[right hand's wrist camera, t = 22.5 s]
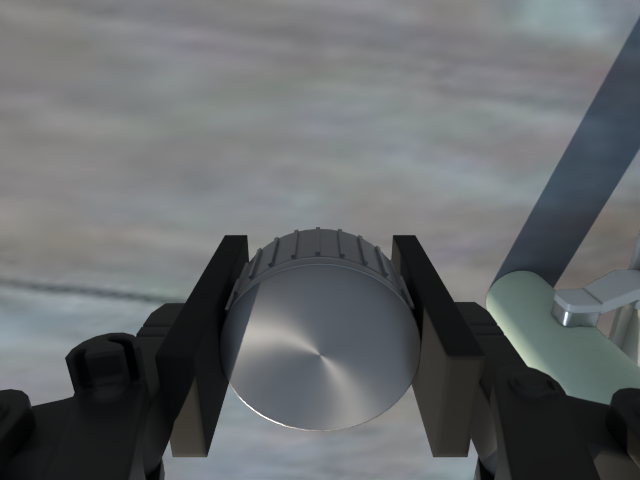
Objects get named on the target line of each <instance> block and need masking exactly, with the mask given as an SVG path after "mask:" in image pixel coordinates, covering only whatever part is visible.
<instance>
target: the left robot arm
mask: <svg viewBox="0 0 640 480" xmlns="http://www.w3.org/2000/svg"><path fill="white" fill-rule="evenodd" d="M616 308H617V311H616V314H615V317H614V321H613V324H612V328H611V331H610V335H609V338H608V339H609V340H610V341H612V342H613V343H614V344H615V345H616V346H617V347H618V348H619V349H620V350H621V351H622V352H624V353H625V354H626V355H627V356H628V357H629V358H630V359H631V360H632V361H633V362H635V363H636V364H637V365H638V366H639V367H640V231H639V235H638V238H637V242H636V245H635V249H634V252H633V255H632V259H631V262H630V266H629V269H628V270H614V271H612V272H610V273H609V274H607V275H605V276H603V277H601V278H599V279H597V280H596V281H594V282H592V283H590V284H588V285H586V286H584V287H583V289H562V290H556V292H555V297H554V302H553V307H552V311H551V314H552V315H553V317H557V320H558V322H559V323H560V324H562V325H563V326H566V327H570V328H573V327H578V326H580V325H581V326H583V327H596V325H597V321H598V318H599V315H601V314H604V313H606V312H609V311H611V310H614V309H616Z"/></svg>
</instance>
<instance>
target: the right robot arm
mask: <svg viewBox="0 0 640 480" xmlns="http://www.w3.org/2000/svg"><path fill="white" fill-rule="evenodd" d="M391 259H392V260H393V262H394V264H395V267H396V269H397V272H398V274H399V276H401V275H402V277H403V279H404V282H405V284H406V287H407V289H408V292H409V294H410V297H411V299H412V302H413V304H414V307H415V309H413V313H414V315H415V318H416V321H417V324H418V327H419V330H420V336H421V355H420V363H419V367H418V370H417V373H416V375H415V377H414V379H413V381H412V387H413V390H414V393H415V397H416V400H417V404H418V407H419V410H420V414H421V417H422V421H423V424H424V427H425V431H426V434H427V437H428V441H429V444H430V448H431V451H432V454H433V457H468V451H469V446H470V440H471V439H472V441H473V444H474V446H475V449H476V451H477V453H478V460H477V465H476V471H475V476H474V480H640V389H638V388H631V387H630V388H623V389H619V390H617V391H616V392H615V393H614V394H613V395H612V398H611V401H610V404H609V405H608V404H603V403H598V402H594V401H589V400H585V399H580V398H576V397H573V396H569V395H566V393H565V391H564V389H563V388H562V387H561V385H560V384H559V383H558V382H557V381H556V380H555V379H553V378H552V377H551V376H550V375H548V374H546V373H544V372H542V371H540V370H538V369H535V368H532V367H528V366H527V365H526V363H525V362H524V360H523V359H522V358H521V356H520V355H519V353H518V352H517V351H516V349H515V348H514V346H513V345H512V343H511V342H510V341H509V339H508V338H507V336H506V335H504V332H503V331H502V329H501V328H500V327H499V326H497V322H496V321H495V319H494V318H493V317H492V315H491V314H490V312H489V311H487V310H486V309H484V308H483V307H481V306H480V305H478V304H477V303H475V302H454V301H453V299H452V297H451V296H450V294H449V292H448V291H447V289H446V287H445V286H444V284H443V282H442V280H441V279H440V277H439V275H438V274H437V272H436V270H435V268H434V267H433V265H432V263H431V262H430V260H429V258H428V256H427V255H426V253H425V251H424V250H423V248H422V246H421V245H420V243H419V241H418V239H417V238H416V236H415V235H393V244H392V258H391ZM246 262H247V263H249V254H248V240H247V235H225V236H224V238H223V240H222V242H221V243H220V245H219V247H218V248H217V250H216V252H215V254H214V255H213V257H212V259H211V260H210V262H209V264H208V265H207V267H206V269H205V271H204V272H203V274H202V276H201V277H200V279H199V281H198V283H197V284H196V286H195V288H194V289H193V291H192V293H191V295H190V296H189V298H188V300H187V301H186V303H165V304H164V305H163V306H161V307H160V308H158V309H157V310H155V311H154V312H152V313H151V314H150V316H149V317H148V319H147V320H146V322H145V323H144V324H143V327H141V329H140V330H139V332H138V333H137V334H136V335H137V336H136V337H135V336H134V335H131V334H127V333H108V334H104V335H100V336H96V337H93V338H91V339H89V340H86V341H84V342H82V343H81V344H79V345H78V346H76V347H75V348H73V349H72V350H71V351H70V353H69V354H68V355H67V356H66V357H65V359H66V363H67V366H68V370H69V373H70V377H71V381H72V384H73V388H74V391H75V393H74V396H73V397H70V398H67V399H63V400H59V401H54V402H50V403H45V404H41V405H36V406H31V403H30V400H29V397H28V395H26V394H25V393H24V392H23V391H19V390H13V389H8V390H1V391H0V480H164V476H165V472H164V466H163V460H162V456H163V454H164V451H165V449H166V446H167V444H168V442H169V439H170V444H171V450H172V455H173V457H207V455H208V452H209V449H210V445H211V442H212V438H213V435H214V432H215V428H216V425H217V421H218V418H219V415H220V411H221V408H222V404H223V401H224V398H225V394H226V391H227V387H228V384H229V382H228V381H227V379H226V377H225V374H224V372H223V369H222V366H221V361H220V352H219V338H220V332H221V328H222V324H223V321H224V319H225V316H226V314H227V313H224V310H225V307H226V305H227V302H228V300H229V297H230V295H231V292H232V290H233V288H234V285H235V283H236V280H237V279H239V277H240V275H241V272H242V270H243V267H244V265H245V263H246Z"/></svg>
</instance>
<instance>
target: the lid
mask: <svg viewBox="0 0 640 480" xmlns="http://www.w3.org/2000/svg"><path fill="white" fill-rule="evenodd" d="M413 309H415V307H414V304H413V302H412V299H411V297H410V294H409V292H408V289H407V287H406V284H405V282H404V279H403V277H402V275H401V276H399V274H398V272H397V269H396V267H395V264H394V262H393V260H392V259H391V260H389V259H388V258H387V257H386V256H385V255H384V254H383V253H382V252H381V250H380V247H378V246H376V247H375V246H373V245H372V244H370V243H369V242H367V241H365V240H364V239H363V238H362V236H360V235H359V236H358V237H357V236H355V235H352V234H349V233H345V232H342V230H341V229H338V231H336V230H329V229H320V227H316V229H313V230H304V231H298V230H295V231H294V233H292V234H289V235H286V236H283V237H281V238H278V237H276V238H275V239H274V241H273V242H272V243H270V244H269V245H267V246H266V247H264V248H263V249H261V248H259V249H258V250H257V253H256V255H255V256H254V258H253V259H252V260H251V261H250V262H249V263H247V262H246V263H245V265H244V267H243V270H242V272H241V275H240V277H239V279H237V280H236V283H235V285H234V288H233V290H232V292H231V295H230V297H229V300H228V302H227V305H226V307H225V310H224V313H227V314H226V316H225V319H224V321H223V324H222V328H221V332H220V338H219V352H220V361H221V366H222V369H223V372H224V374H225V377H226V379H227V381H228V382H229V384H230V386H231V388H232V389H233V390H234V392H235V393H236V394H237V396H238V397H239V398H240V399H241V400H242V401H243V402H244V403H245V404H246V405H247V406H249V407H250V408H251V409H252V410H254V411H255V412H257V413H258V414H260V415H262V416H263V417H265V418H267V419H269V420H271V421H273V422H275V423H278V424H281V425H284V426H287V427H291V428H295V429H301V430H308V431H332V430H339V429H345V428H349V427H353V426H357V425H360V424H362V423H365V422H367V421H370V420H371V419H373V418H375V417H377V416H379V415H381V414H382V413H384V412H385V411H387V410H388V409H389V408H390V407H392V406H393V405H394V404H395V403H396V402H397V401H398V400H399V399H400V398H401V397H402V396H403V395H404V394H405V392H406V391H407V389H408V388H409V386H410V385H411V383H412V381H413V379H414V377H415V375H416V373H417V370H418V367H419V363H420V355H421V336H420V330H419V327H418V324H417V321H416V318H415V315H414V313H413Z"/></svg>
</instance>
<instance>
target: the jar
mask: <svg viewBox="0 0 640 480" xmlns="http://www.w3.org/2000/svg"><path fill="white" fill-rule="evenodd" d="M555 292H556V290H555V289H554V288H553V287H551V286H550V285H549V284H548V283H547V282H546V281H545V280H544V279H543V278H542V277H540V276H539V275H537V274H536V273H533V272H530V271H515V272H511V273H508V274H506V275H504V276H502V277H501V278H499V279H498V280H497V281H496V282H495V283H494V284H493V285H492V286H491V288H490V290H489V292H488V294H487V299H486V305H487V310H488V311H489V312H490V314H491V315H492V317H493V318H494V319H495V321H496V322H497V325H498V326H499V327H500V328H501V329H502V331H503V332H504V334H505V335H506V336H507V338H508V339H509V341H510V342H511V343H512V345H513V346H514V348H515V349H516V351H517V352H518V353H519V355H520V356H521V358H522V359H523V360H524V362H525V363H526V365H527V366H528V367H532V368H535V369H538V370H540V371H542V372H544V373H546V374H548V375H550V376H551V377H552V378H553V379H555V380H556V381H557V382H558V383H559V384H560V385H561V387H562V388H563V389H564V391H565V393H566V395H569V396H573V397H576V398H580V399H585V400H589V401H594V402H598V403H603V404H608V405H609V404H610V401H611V398H612V395H613V394H614V393H615V392H616V391H617V390H619V389H623V388H630V387H631V388H638V389H640V367H639V366H638V365H637V364H636V363H635V362H633V361H632V360H631V359H630V358H629V357H628V356H627V355H626V354H625V353H624V352H622V351H621V350H620V349H619V348H618V347H617V346H616V345H615V344H614V343H613V342H612V341H610V340H609V339H608V338H607V337H606V336H605V335H604V334H603V333H602V332H601V331H600V330H598V329H597V328H596V327H583V326H581V325H580V326H578V327H573V328H570V327H566V326H563V325H562V324H560V323H559V322H558V320H557V317H553V315H552V314H551V311H552V307H553V302H554V297H555Z"/></svg>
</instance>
